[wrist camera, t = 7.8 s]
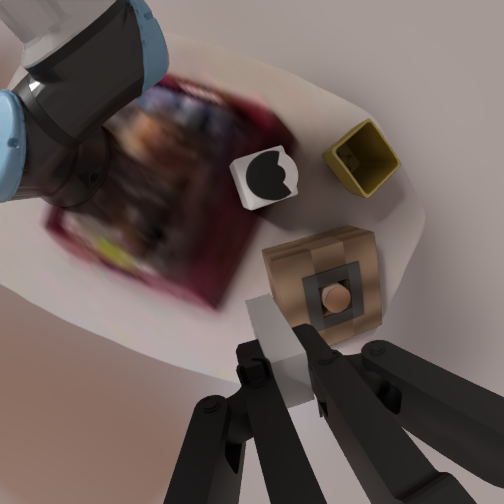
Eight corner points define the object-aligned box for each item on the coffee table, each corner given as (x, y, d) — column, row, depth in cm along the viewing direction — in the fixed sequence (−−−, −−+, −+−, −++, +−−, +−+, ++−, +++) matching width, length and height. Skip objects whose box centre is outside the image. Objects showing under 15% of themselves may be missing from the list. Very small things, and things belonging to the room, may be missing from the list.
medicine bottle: (243, 208, 44) (256, 213, 33) (228, 165, 43) (236, 155, 31) (285, 193, 45) (312, 194, 33) (271, 151, 43) (293, 138, 32)
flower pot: (340, 198, 46) (367, 200, 38) (308, 157, 44) (330, 150, 36) (372, 167, 46) (402, 164, 37) (343, 128, 44) (369, 116, 35)
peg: (305, 276, 47) (324, 291, 39) (327, 269, 47) (348, 283, 40) (309, 297, 48) (327, 316, 40) (331, 290, 48) (351, 307, 40)
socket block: (261, 249, 46) (273, 262, 38) (349, 225, 48) (375, 232, 39) (281, 334, 50) (294, 358, 42) (360, 307, 51) (383, 325, 43)
